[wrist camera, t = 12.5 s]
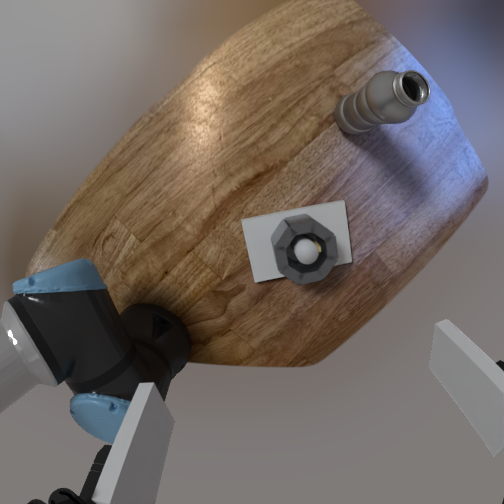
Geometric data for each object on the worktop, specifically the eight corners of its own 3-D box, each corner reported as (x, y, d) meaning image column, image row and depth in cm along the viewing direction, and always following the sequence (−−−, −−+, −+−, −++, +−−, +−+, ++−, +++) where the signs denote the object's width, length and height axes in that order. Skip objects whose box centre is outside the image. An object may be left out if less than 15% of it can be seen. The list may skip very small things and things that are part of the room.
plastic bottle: (322, 117, 40) (374, 83, 21) (346, 89, 39) (407, 45, 20) (353, 145, 42) (422, 132, 22) (376, 116, 40) (450, 91, 21)
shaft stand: (254, 279, 47) (255, 299, 40) (241, 219, 45) (240, 229, 37) (349, 259, 47) (365, 275, 39) (342, 200, 44) (359, 206, 37)
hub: (277, 273, 46) (281, 288, 40) (267, 221, 44) (269, 228, 38) (329, 262, 45) (340, 275, 40) (321, 210, 43) (332, 216, 37)
